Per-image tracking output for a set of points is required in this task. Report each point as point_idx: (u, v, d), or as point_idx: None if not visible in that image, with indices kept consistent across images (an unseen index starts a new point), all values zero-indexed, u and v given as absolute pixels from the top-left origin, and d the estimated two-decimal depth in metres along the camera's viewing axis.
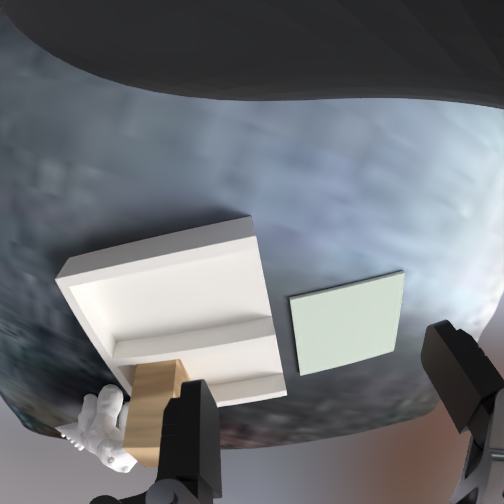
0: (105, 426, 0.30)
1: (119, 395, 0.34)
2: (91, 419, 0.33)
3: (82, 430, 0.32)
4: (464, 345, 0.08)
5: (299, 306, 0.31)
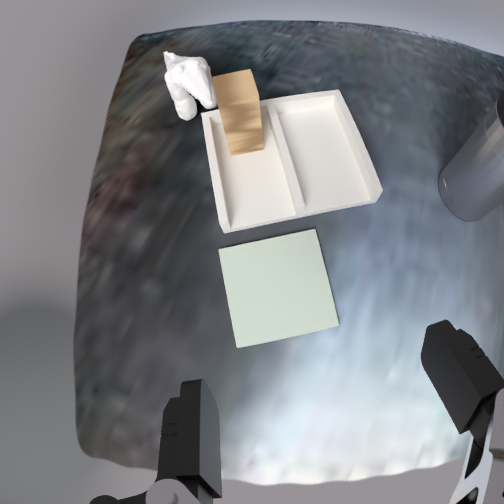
0: (207, 78, 0.40)
1: None
2: None
3: None
4: (464, 345, 0.08)
5: (309, 236, 0.39)
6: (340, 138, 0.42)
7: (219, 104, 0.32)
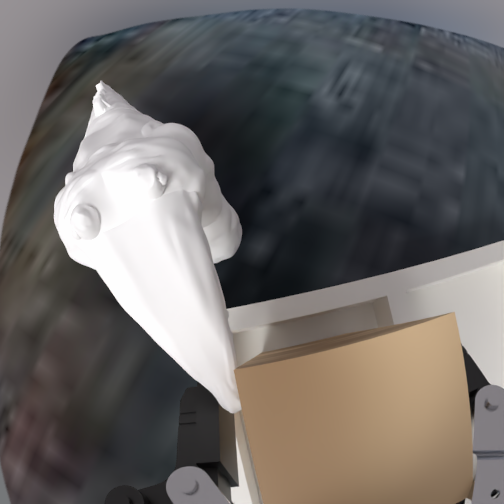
0: (205, 202, 0.13)
1: (222, 257, 0.17)
2: None
3: None
4: None
5: None
6: None
7: None
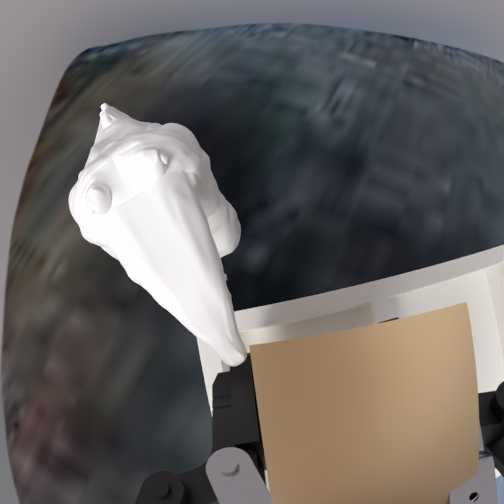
0: (204, 193, 0.14)
1: (223, 252, 0.18)
2: None
3: None
4: None
5: None
6: (492, 357, 0.16)
7: None
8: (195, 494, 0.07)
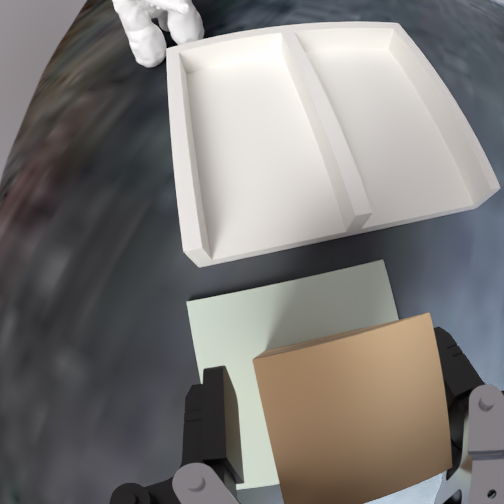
0: None
1: (191, 39, 0.24)
2: None
3: None
4: (440, 343, 0.09)
5: (372, 276, 0.18)
6: (409, 95, 0.21)
7: None
8: (162, 503, 0.06)
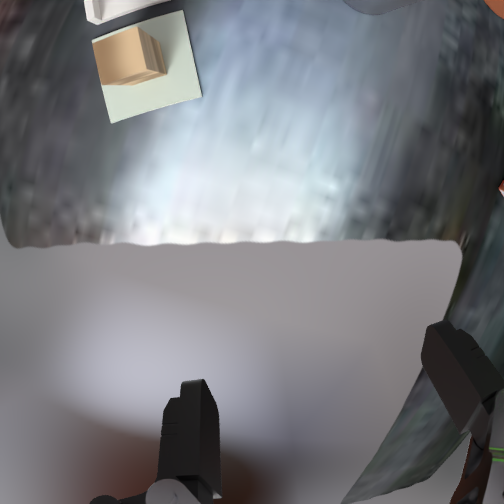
0: None
1: None
2: None
3: None
4: (464, 345, 0.08)
5: (175, 17, 0.31)
6: None
7: (104, 84, 0.25)
8: None
